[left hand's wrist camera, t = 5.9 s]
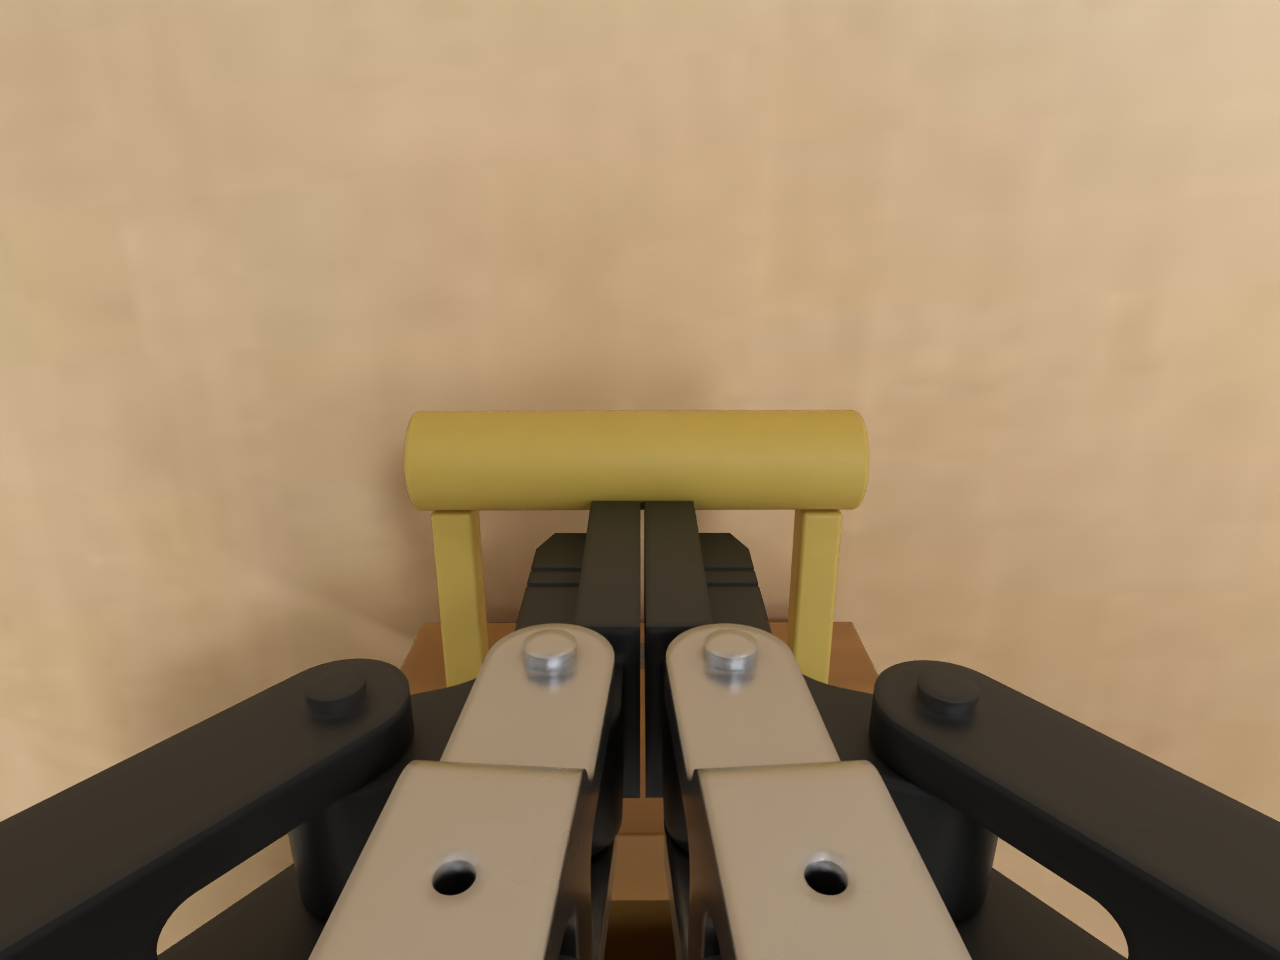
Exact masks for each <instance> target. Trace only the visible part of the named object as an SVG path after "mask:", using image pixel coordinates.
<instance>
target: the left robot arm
mask: <svg viewBox="0 0 1280 960" xmlns="http://www.w3.org/2000/svg"><path fill="white" fill-rule="evenodd" d="M644 670H645V790H646V798H663V809H664V842H663V855H664V865H665V873H666V881H667V888H668V896H669V904H670V912H671V919H672V927H673V935H674V943H675V950H676V958H677V960H1280V822H1278V821H1276V820H1274V819H1272V818H1270V817H1268V816H1266V815H1264V814H1262V813H1260V812H1258V811H1256V810H1254V809H1252V808H1250V807H1248V806H1246V805H1244V804H1242V803H1240V802H1238V801H1236V800H1234V799H1232V798H1230V797H1228V796H1226V795H1224V794H1222V793H1220V792H1218V791H1216V790H1214V789H1212V788H1210V787H1208V786H1206V785H1204V784H1202V783H1200V782H1198V781H1196V780H1194V779H1192V778H1190V777H1188V776H1186V775H1184V774H1182V773H1180V772H1178V771H1176V770H1174V769H1172V768H1170V767H1168V766H1166V765H1164V764H1162V763H1160V762H1158V761H1156V760H1154V759H1152V758H1150V757H1148V756H1146V755H1144V754H1142V753H1140V752H1138V751H1136V750H1134V749H1132V748H1130V747H1128V746H1126V745H1124V744H1122V743H1120V742H1118V741H1116V740H1114V739H1112V738H1110V737H1108V736H1106V735H1104V734H1102V733H1100V732H1098V731H1096V730H1094V729H1092V728H1090V727H1088V726H1086V725H1084V724H1082V723H1080V722H1078V721H1076V720H1074V719H1072V718H1070V717H1068V716H1066V715H1064V714H1062V713H1060V712H1058V711H1056V710H1054V709H1052V708H1050V707H1048V706H1046V705H1044V704H1042V703H1040V702H1038V701H1036V700H1034V699H1032V698H1030V697H1028V696H1026V695H1024V694H1022V693H1020V692H1018V691H1016V690H1014V689H1012V688H1010V687H1008V686H1006V685H1004V684H1002V683H1000V682H998V681H996V680H994V679H992V678H990V677H988V676H986V675H984V674H981V673H979V672H977V671H974V670H972V669H969V668H966V667H963V666H960V665H956V664H952V663H946V662H940V661H929V660H920V661H909V662H903V663H900V664H896V665H894V666H891V667H889V668H887V669H886V670H884V671H883V672H882V673H881V674H880V675H879V676H878V677H877V679H876V682H875V684H874V691H873V694H870V693H865V692H860V691H855V690H851V689H846V688H841V687H837V686H832V685H828V684H825V683H822V682H820V681H817V680H814V679H812V678H810V677H808V676H806V675H804V674H802V673H801V670H800V668H799V666H798V664H797V661H796V659H795V657H794V655H793V653H792V651H791V650H790V648H789V647H788V646H787V645H786V644H785V643H784V642H783V641H782V640H780V639H779V638H778V637H776V636H774V635H772V632H771V628H770V625H769V621H768V617H767V614H766V610H765V606H764V603H763V599H762V596H761V592H760V588H759V587H758V581H757V578H756V574H755V571H754V567H753V563H752V560H751V556H750V552H749V549H748V548H747V547H746V546H744V545H743V544H742V543H741V542H740V541H738V540H737V539H736V538H735V537H734V536H733V535H731V534H730V533H698V527H697V521H696V514H695V508H694V502H693V501H644ZM623 798H640V501H591V507H590V514H589V521H588V528H587V533H555V534H554V535H552V536H551V537H550V538H549V539H548V540H547V541H545V542H544V543H543V544H542V545H541V546H540V547H538V548H537V549H536V552H535V556H534V560H533V564H532V567H531V571H530V575H529V579H528V582H527V587H526V590H525V594H524V598H523V601H522V605H521V609H520V613H519V616H518V620H517V624H516V628H515V631H514V632H512V633H510V634H508V635H506V636H505V637H503V638H501V639H500V640H499V641H497V642H496V643H495V644H494V645H493V646H492V647H491V649H490V650H489V652H488V653H487V655H486V658H485V660H484V662H483V664H482V667H481V669H480V671H479V673H478V676H477V678H475V679H473V680H470V681H468V682H465V683H462V684H459V685H455V686H451V687H447V688H442V689H437V690H432V691H427V692H422V693H417V694H412V695H410V689H409V682H408V680H407V677H406V676H405V674H404V673H403V672H402V671H401V670H399V669H398V668H397V667H395V666H393V665H391V664H389V663H386V662H382V661H378V660H371V659H346V660H339V661H333V662H329V663H325V664H321V665H318V666H315V667H312V668H310V669H307V670H305V671H303V672H301V673H298V674H296V675H294V676H292V677H290V678H288V679H286V680H284V681H282V682H280V683H278V684H276V685H274V686H272V687H270V688H268V689H266V690H264V691H262V692H260V693H258V694H256V695H254V696H252V697H250V698H248V699H246V700H244V701H242V702H240V703H238V704H236V705H234V706H232V707H230V708H228V709H226V710H224V711H222V712H220V713H218V714H216V715H214V716H212V717H210V718H208V719H206V720H204V721H202V722H200V723H198V724H196V725H194V726H192V727H190V728H188V729H186V730H184V731H182V732H180V733H178V734H176V735H174V736H172V737H170V738H168V739H166V740H164V741H162V742H160V743H158V744H156V745H154V746H152V747H150V748H148V749H146V750H144V751H142V752H140V753H138V754H136V755H134V756H132V757H130V758H128V759H126V760H124V761H122V762H120V763H118V764H116V765H114V766H112V767H110V768H108V769H106V770H104V771H102V772H100V773H98V774H96V775H94V776H92V777H90V778H88V779H86V780H84V781H82V782H80V783H78V784H76V785H74V786H72V787H70V788H68V789H66V790H64V791H62V792H60V793H58V794H56V795H54V796H52V797H50V798H48V799H46V800H44V801H42V802H40V803H38V804H36V805H34V806H32V807H30V808H28V809H26V810H24V811H22V812H20V813H18V814H16V815H14V816H12V817H10V818H8V819H6V820H4V821H2V822H0V960H604V953H605V945H606V938H607V930H608V922H609V914H610V906H611V899H612V891H613V883H614V875H615V868H616V860H617V834H618V832H619V829H620V827H621V823H622V815H623ZM287 833H288V836H289V841H290V846H291V851H292V856H293V861H294V864H292V865H291V866H289V867H288V868H286V869H285V870H283V871H282V872H280V873H279V874H278V875H276V876H275V877H273V878H272V879H270V880H269V881H267V882H266V883H264V884H263V885H261V886H260V887H258V888H257V889H255V890H254V891H252V892H251V893H250V894H248V895H247V896H245V897H244V898H242V899H241V900H239V901H238V902H236V903H235V904H233V905H232V906H230V907H229V908H227V909H226V910H225V911H223V912H222V913H220V914H219V915H217V916H216V917H214V918H213V919H211V920H210V921H208V922H207V923H205V924H204V925H202V926H201V927H199V928H198V929H197V930H195V931H194V932H192V933H191V934H189V935H188V936H186V937H185V938H183V939H182V940H180V941H179V942H177V943H176V944H174V945H173V946H172V947H170V948H169V949H167V950H166V951H164V952H163V953H161V954H159V955H158V956H157V952H156V950H157V942H158V938H159V935H160V933H161V931H162V928H163V927H164V925H165V923H166V921H167V920H168V919H169V917H170V916H171V915H172V913H173V912H174V911H175V910H176V909H177V908H178V907H179V905H181V904H182V903H183V902H184V901H185V900H186V899H187V898H189V897H190V896H191V895H193V894H194V893H196V892H197V891H199V890H200V889H202V888H203V887H205V886H206V885H208V884H210V883H211V882H213V881H214V880H216V879H217V878H219V877H220V876H222V875H223V874H225V873H227V872H228V871H230V870H231V869H233V868H234V867H236V866H237V865H239V864H240V863H242V862H244V861H245V860H247V859H248V858H250V857H251V856H253V855H254V854H256V853H257V852H259V851H261V850H262V849H264V848H265V847H267V846H268V845H270V844H271V843H273V842H275V841H276V840H278V839H279V838H281V837H282V836H284V835H285V834H287ZM998 837H999V838H1001V839H1002V840H1004V841H1005V842H1007V843H1009V844H1010V845H1012V846H1013V847H1015V848H1016V849H1018V850H1019V851H1021V852H1023V853H1024V854H1026V855H1027V856H1029V857H1030V858H1032V859H1033V860H1035V861H1036V862H1038V863H1040V864H1041V865H1043V866H1044V867H1046V868H1047V869H1049V870H1050V871H1052V872H1053V873H1055V874H1057V875H1058V876H1060V877H1061V878H1063V879H1064V880H1066V881H1067V882H1069V883H1070V884H1072V885H1074V886H1075V887H1077V888H1078V889H1080V890H1081V891H1083V892H1084V893H1086V894H1088V895H1089V896H1091V897H1092V898H1093V899H1095V900H1096V901H1097V902H1099V903H1100V904H1101V905H1102V906H1103V907H1104V908H1105V909H1106V910H1107V911H1108V912H1109V913H1110V914H1111V915H1112V916H1113V918H1114V919H1115V920H1116V922H1117V923H1118V925H1119V926H1120V928H1121V930H1122V931H1123V934H1124V936H1125V938H1126V941H1127V945H1128V952H1129V956H1128V959H1127V958H1125V957H1123V956H1122V955H1120V954H1119V953H1117V952H1116V951H1114V950H1113V949H1111V948H1110V947H1108V946H1107V945H1106V944H1104V943H1103V942H1101V941H1100V940H1098V939H1097V938H1095V937H1094V936H1092V935H1091V934H1089V933H1088V932H1086V931H1085V930H1083V929H1082V928H1081V927H1079V926H1078V925H1076V924H1075V923H1073V922H1072V921H1070V920H1069V919H1067V918H1066V917H1064V916H1063V915H1061V914H1060V913H1058V912H1057V911H1055V910H1054V909H1053V908H1051V907H1050V906H1048V905H1047V904H1045V903H1044V902H1042V901H1041V900H1039V899H1038V898H1036V897H1035V896H1033V895H1032V894H1030V893H1029V892H1028V891H1026V890H1025V889H1023V888H1022V887H1020V886H1019V885H1017V884H1016V883H1014V882H1013V881H1011V880H1010V879H1008V878H1007V877H1005V876H1004V875H1002V874H1001V873H1000V872H998V871H997V870H995V869H994V868H992V865H993V860H994V855H995V850H996V845H997V840H998Z"/></svg>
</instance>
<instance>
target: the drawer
mask: <svg viewBox="0 0 1280 960" xmlns="http://www.w3.org/2000/svg"><path fill="white" fill-rule="evenodd" d="M868 472H869V446H868V437H867V432H866V428H865V424H864V421H863V418H862V416H861V415H860V414H859V413H858V412H856V411H854V410H696V411H419V412H417V413H415V414H413V416H412V417H411V419H410V422H409V425H408V428H407V432H406V438H405V446H404V473H405V481H406V487H407V491H408V495H409V498H410V501H411V503H412V505H413V506H414V507H415V508H416V509H419V510H434V512H433V513H432V515H431V522H432V533H433V544H434V555H435V566H436V577H437V587H438V598H439V609H440V620H441V623H424V624H423V625H422V627H421V629H420V631H419V633H418V635H417V637H416V639H415V641H414V643H413V645H412V647H411V649H410V651H409V653H408V655H407V657H406V659H405V661H404V663H403V665H402V667H401V669H400V670H401V671H402V672H403V673H404V674H405V676H406V677H407V680H408V682H409V689H410V695H412V694H417V693H422V692H427V691H432V690H437V689H442V688H447V687H451V686H455V685H459V684H462V683H465V682H468V681H470V680H473V679H475V678H477V676H478V673H479V671H480V669H481V667H482V664H483V662H484V660H485V658H486V655H487V653H488V652H489V650H490V649H491V647H492V646H493V645H494V644H495V643H496V642H497V641H499V640H500V639H501V638H503V637H505V636H506V635H508V634H510V633H512V632H514V631H515V628H516V624H517V623H487V620H486V606H485V592H484V578H483V564H482V550H481V536H480V522H479V510H590V507H591V501H640V510H644V501H693V502H694V508H695V510H779V509H795V522H794V537H793V553H792V568H791V584H790V599H789V614H788V622H769V625H770V628H771V632H772V635H774V636H776V637H778V638H779V639H780V640H782V641H783V642H784V643H785V644H786V645H787V646H788V647H789V648H790V650H791V651H792V653H793V655H794V657H795V659H796V661H797V664H798V666H799V668H800V670H801V673H802V674H804V675H806V676H808V677H810V678H812V679H814V680H817V681H820V682H822V683H825V684H828V685H832V686H837V687H841V688H846V689H851V690H855V691H860V692H865V693H870V694H873V691H874V684H875V682H876V679H877V677H878V674H877V672H876V670H875V668H874V666H873V664H872V662H871V660H870V658H869V656H868V654H867V652H866V650H865V648H864V646H863V644H862V642H861V640H860V638H859V636H858V634H857V632H856V630H855V628H854V625H853V623H851V622H833V618H834V606H835V595H836V583H837V571H838V560H839V548H840V536H841V524H842V514H841V512H840V511H839V509H855V508H857V507H858V506H860V504H861V502H862V500H863V498H864V494H865V491H866V487H867V481H868ZM663 842H664V809H663V798H646V790H645V670H644V623H640V798H623V815H622V823H621V827H620V829H619V832H618V834H617V860H616V868H615V875H614V883H613V891H612V899H611V906H610V914H609V922H608V930H607V938H606V945H605V953H604V960H677V958H676V950H675V943H674V935H673V927H672V919H671V912H670V904H669V896H668V888H667V881H666V873H665V865H664V855H663Z"/></svg>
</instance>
